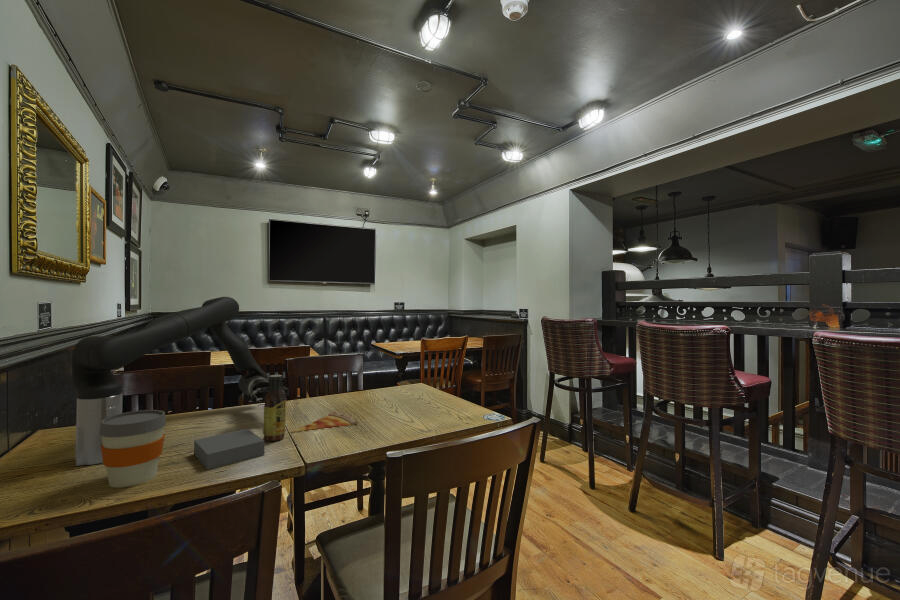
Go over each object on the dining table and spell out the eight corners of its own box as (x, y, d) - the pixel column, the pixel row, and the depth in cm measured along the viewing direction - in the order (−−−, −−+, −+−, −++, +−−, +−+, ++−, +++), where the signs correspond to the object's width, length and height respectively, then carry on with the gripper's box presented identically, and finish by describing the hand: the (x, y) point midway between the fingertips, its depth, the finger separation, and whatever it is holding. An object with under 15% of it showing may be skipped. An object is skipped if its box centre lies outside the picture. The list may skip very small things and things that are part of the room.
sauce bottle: (279, 442, 118) (280, 378, 118) (259, 442, 118) (260, 377, 118) (288, 435, 125) (289, 373, 125) (269, 434, 125) (270, 373, 125)
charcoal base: (207, 470, 99) (207, 454, 99) (193, 454, 108) (194, 440, 109) (264, 454, 109) (264, 440, 109) (247, 441, 118) (247, 428, 118)
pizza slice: (288, 420, 141) (288, 415, 141) (350, 414, 150) (350, 408, 150) (290, 434, 127) (290, 428, 127) (358, 426, 136) (358, 420, 136)
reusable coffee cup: (171, 478, 94) (172, 416, 94) (102, 497, 85) (103, 429, 85) (158, 463, 102) (159, 406, 103) (95, 478, 93) (96, 417, 93)
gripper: (239, 380, 137) (246, 389, 124) (281, 376, 145) (292, 384, 132) (238, 402, 137) (245, 413, 124) (281, 396, 145) (292, 406, 132)
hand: (269, 398), depth 128 cm, fingers open, 8 cm apart
